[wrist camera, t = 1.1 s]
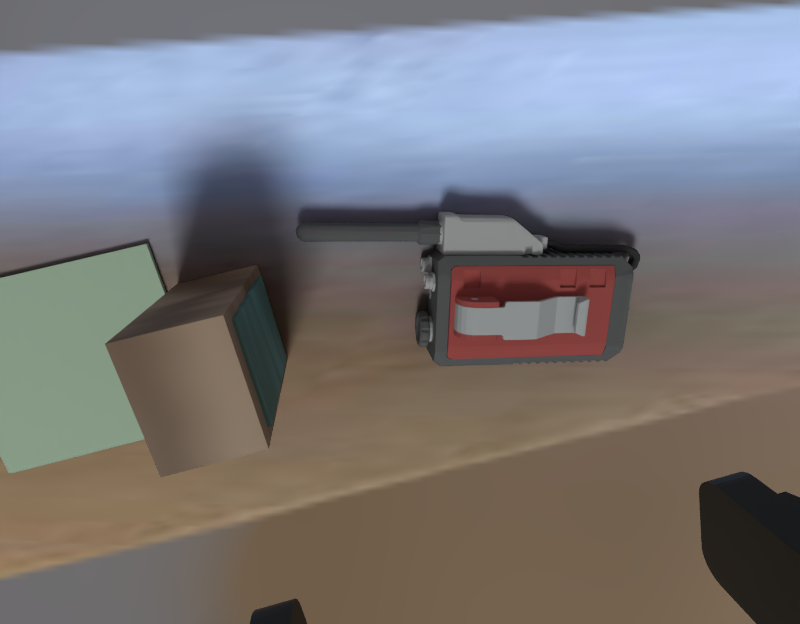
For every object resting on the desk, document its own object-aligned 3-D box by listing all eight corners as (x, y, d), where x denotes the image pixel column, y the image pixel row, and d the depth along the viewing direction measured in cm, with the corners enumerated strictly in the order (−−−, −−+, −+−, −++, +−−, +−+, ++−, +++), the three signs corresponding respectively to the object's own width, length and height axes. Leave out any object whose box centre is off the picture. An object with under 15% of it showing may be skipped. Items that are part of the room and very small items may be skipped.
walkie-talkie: (631, 212, 32) (296, 209, 29) (677, 220, 28) (291, 217, 25) (611, 348, 34) (301, 356, 32) (651, 374, 30) (297, 386, 28)
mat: (148, 243, 28) (146, 244, 28) (213, 419, 32) (212, 421, 31) (-79, 296, 28) (-83, 297, 27) (12, 470, 31) (9, 473, 31)
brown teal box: (260, 263, 29) (228, 313, 20) (290, 359, 31) (273, 447, 22) (178, 283, 29) (104, 343, 20) (212, 379, 31) (160, 477, 22)
